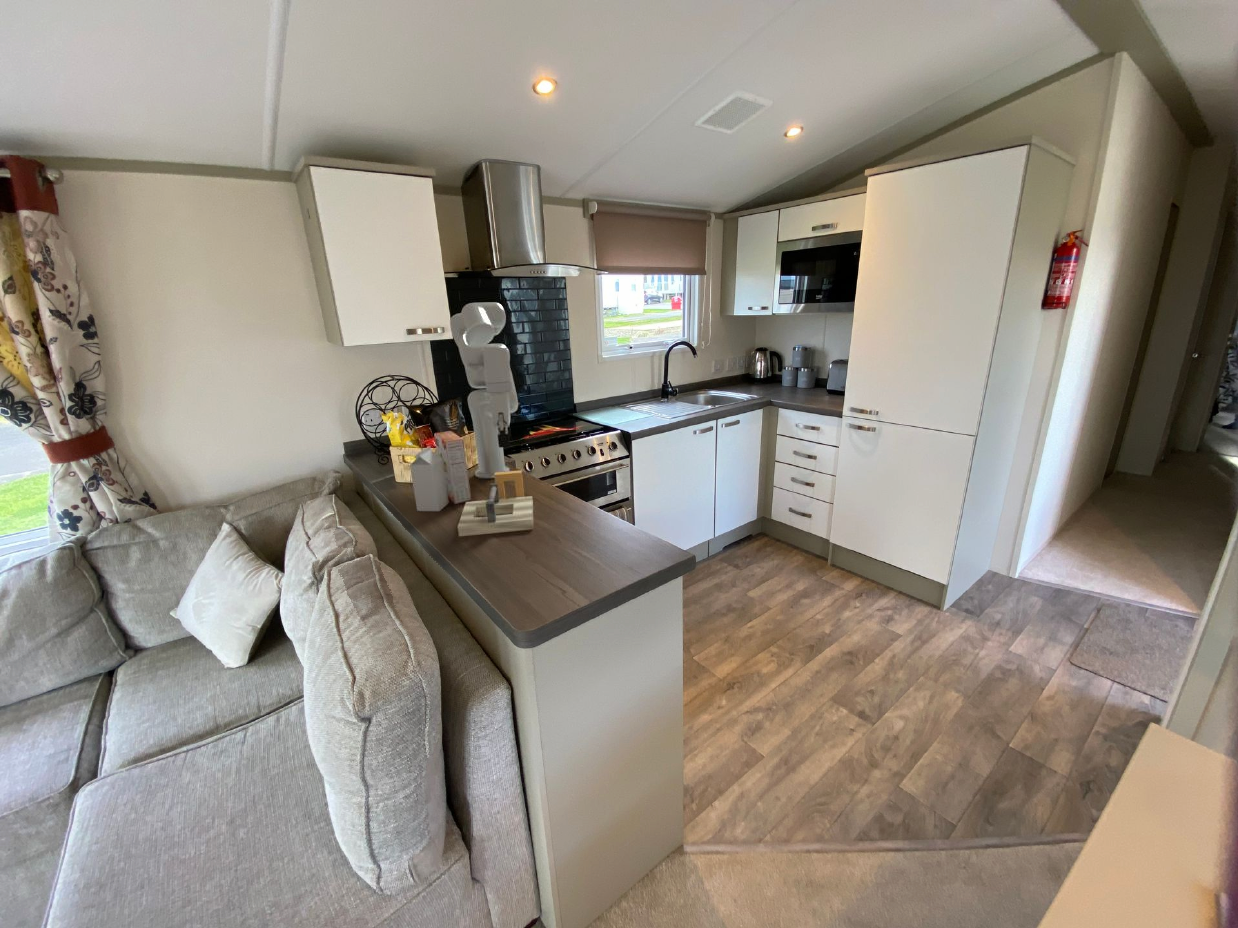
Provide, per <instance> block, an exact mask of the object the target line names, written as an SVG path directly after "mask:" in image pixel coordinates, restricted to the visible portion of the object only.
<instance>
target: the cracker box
mask: <svg viewBox="0 0 1238 928" xmlns="http://www.w3.org/2000/svg"><path fill="white" fill-rule="evenodd" d="M433 436H434V442H435V446H436V454H437V455H438V456H440V457H441V458H442V460H443V467H444V473H445V480H446V487H447V494H448V499H450V501H451V502H452V503H453V504H454V505H457V504H461V503H466V502H471V501H473V500H472V494H471V486H470V480H469V473H468V465H467V458H466V450H465V444H464V443H465V442H464V438H462V437H460V436H459V435H457V434H456V433H455V432H453V431H452V430H448V431H442V432H440V431H439V432H434V435H433Z"/></svg>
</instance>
